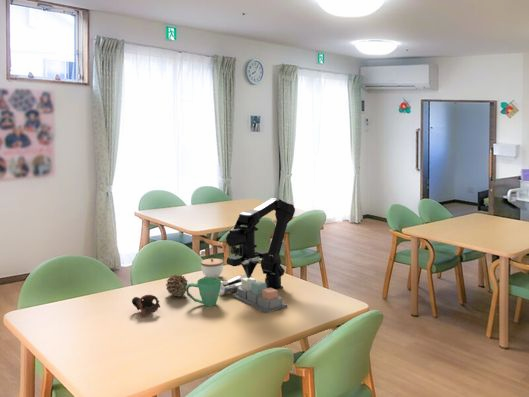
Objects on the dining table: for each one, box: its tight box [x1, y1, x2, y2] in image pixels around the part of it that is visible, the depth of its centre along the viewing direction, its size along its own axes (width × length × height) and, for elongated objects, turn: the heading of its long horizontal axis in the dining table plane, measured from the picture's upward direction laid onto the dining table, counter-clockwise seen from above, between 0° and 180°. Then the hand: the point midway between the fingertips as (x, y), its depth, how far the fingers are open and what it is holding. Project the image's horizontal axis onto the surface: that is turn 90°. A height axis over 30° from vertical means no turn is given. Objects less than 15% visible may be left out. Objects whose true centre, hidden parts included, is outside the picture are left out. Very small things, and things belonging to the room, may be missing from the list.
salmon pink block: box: [262, 288, 278, 300], centre depth 207 cm, size 4×4×5 cm
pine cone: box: [165, 273, 189, 297], centre depth 225 cm, size 22×10×10 cm, turn 23°
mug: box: [185, 277, 222, 307], centre depth 210 cm, size 15×10×10 cm
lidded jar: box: [200, 257, 224, 280], centre depth 248 cm, size 11×11×9 cm
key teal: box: [251, 280, 267, 295], centre depth 213 cm, size 4×4×5 cm
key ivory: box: [241, 276, 257, 291], centre depth 219 cm, size 4×4×5 cm
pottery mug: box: [131, 294, 161, 318], centre depth 202 cm, size 12×10×8 cm
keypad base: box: [232, 286, 288, 314], centre depth 214 cm, size 11×24×4 cm, turn 36°
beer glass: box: [219, 274, 254, 296], centre depth 226 cm, size 7×7×15 cm
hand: (248, 277), depth 219 cm, fingers closed
